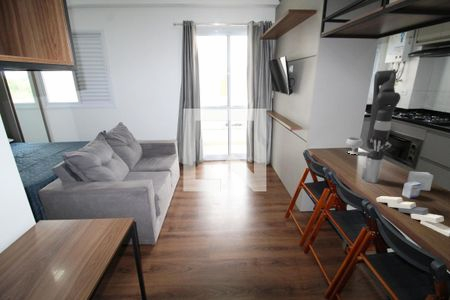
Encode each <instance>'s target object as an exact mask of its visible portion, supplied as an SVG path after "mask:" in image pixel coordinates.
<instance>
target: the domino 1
mask: <svg viewBox="0 0 450 300" xmlns="http://www.w3.org/2000/svg"><path fill="white" fill-rule="evenodd" d="M376 202H377V203H387V204H388V203H395V204H398V203H400V202H404V200H403V197H400V196H388V195H387V196H386V195H381V196H378V197H376Z"/></svg>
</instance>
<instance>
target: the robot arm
mask: <svg viewBox="0 0 450 300" xmlns="http://www.w3.org/2000/svg"><path fill="white" fill-rule="evenodd" d="M396 79H397V73H396V71H395V70H392V69H389V70H387V69H386V70H378V71H377V70H376V72H375V74H374V79H373V93H372V94H373V95H372V102H371V110H370V121H369V127H368V131H367V137H366V147H367V148H368V149H369V150H372V151H370V152H368V153H367V154H366V161H365V166H363V169H362V176H361V179H362V180H363V181H364V182H367V183H371V184H376V183H379V179H380V174H381V168H382V164H383V160H384V157H385V154H386V151H387V150H388V149H389V148H391V147H392V146H393V145H392V143H390V142H389V136H390V131H391V127H392V118H393V115H394V111H395V109H396V108H397V106H398V105H399V103H400V101H401V94H400V93H399V92H397V91H396V90H395V85H396Z"/></svg>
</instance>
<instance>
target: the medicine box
mask: <svg viewBox="0 0 450 300" xmlns="http://www.w3.org/2000/svg"><path fill="white" fill-rule="evenodd" d="M420 188H421V184H420V183H418V182H415V181H413V182H408V183H407V182H405V183H404V184H403V189H402V194H401V195H402V196H403V197H405V198H407V199H412V198H416V197H419V195H420V191H421V190H420Z"/></svg>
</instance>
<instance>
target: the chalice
mask: <svg viewBox="0 0 450 300" xmlns="http://www.w3.org/2000/svg"><path fill="white" fill-rule="evenodd" d="M345 144H346V146H348V147H350V148H351V150H348V153H350V154H349V155H351V154H356V155H355V156H359V155H360V154H361V153H360V152H359V151H355V150H356V149H358V148H361V147H362V146H363V144H364V141H363V139H362V138H359V137H354V136H353V137H348V138H347V139H346V142H345ZM358 154H359V155H358Z"/></svg>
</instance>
